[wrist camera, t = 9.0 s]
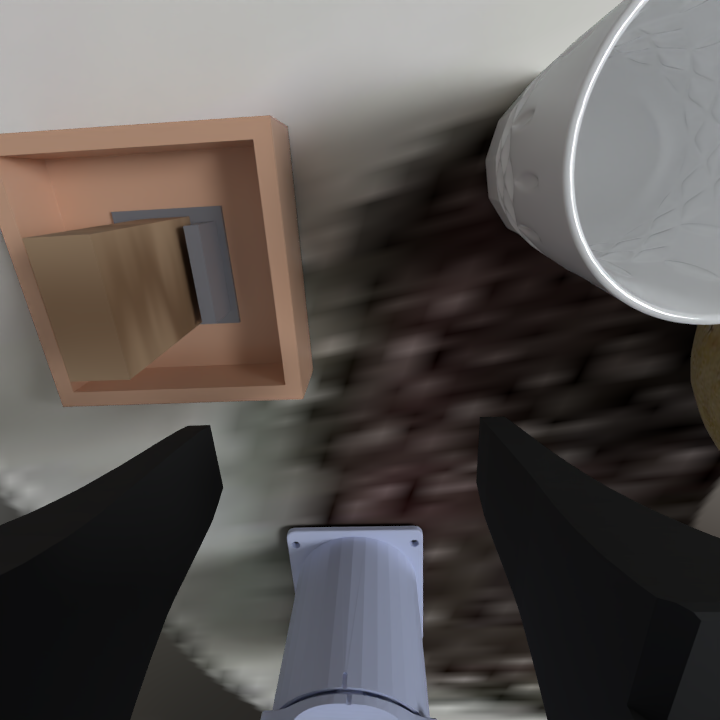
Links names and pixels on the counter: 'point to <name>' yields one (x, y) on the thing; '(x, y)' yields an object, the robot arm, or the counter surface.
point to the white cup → (624, 159)
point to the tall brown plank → (116, 294)
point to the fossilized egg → (707, 377)
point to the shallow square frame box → (204, 242)
